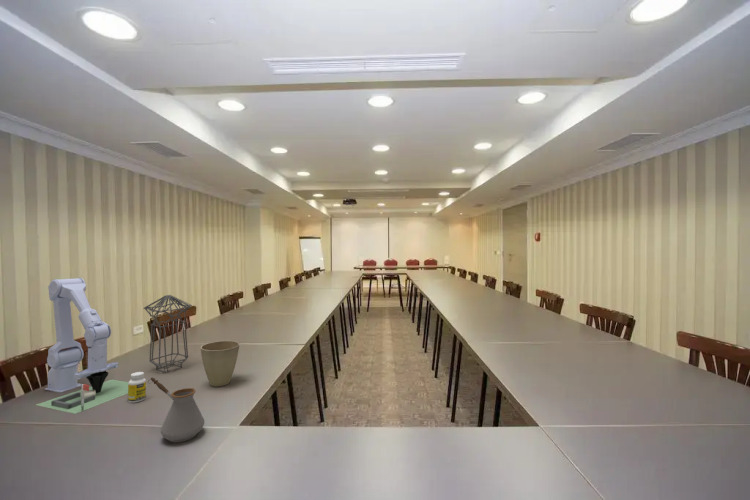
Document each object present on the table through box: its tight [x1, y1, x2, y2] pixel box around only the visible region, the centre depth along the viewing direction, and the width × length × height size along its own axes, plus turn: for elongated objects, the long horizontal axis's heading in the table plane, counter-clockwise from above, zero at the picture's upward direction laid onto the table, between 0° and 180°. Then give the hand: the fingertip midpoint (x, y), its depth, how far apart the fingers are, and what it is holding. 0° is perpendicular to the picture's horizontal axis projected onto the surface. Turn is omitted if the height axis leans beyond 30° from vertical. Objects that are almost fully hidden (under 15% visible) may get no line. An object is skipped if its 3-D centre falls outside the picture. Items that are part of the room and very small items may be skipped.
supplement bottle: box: [127, 371, 147, 404], centre depth 127 cm, size 5×5×10 cm
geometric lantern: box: [143, 294, 193, 373], centre depth 161 cm, size 16×16×35 cm
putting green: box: [35, 379, 148, 415], centre depth 131 cm, size 21×26×1 cm
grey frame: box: [51, 383, 95, 412], centre depth 123 cm, size 18×8×9 cm, turn 72°
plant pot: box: [200, 340, 240, 387], centre depth 143 cm, size 15×15×16 cm
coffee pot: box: [147, 377, 205, 443], centre depth 105 cm, size 21×12×15 cm, turn 65°
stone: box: [84, 390, 96, 398], centre depth 128 cm, size 4×4×2 cm
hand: (97, 392), depth 131 cm, fingers closed
